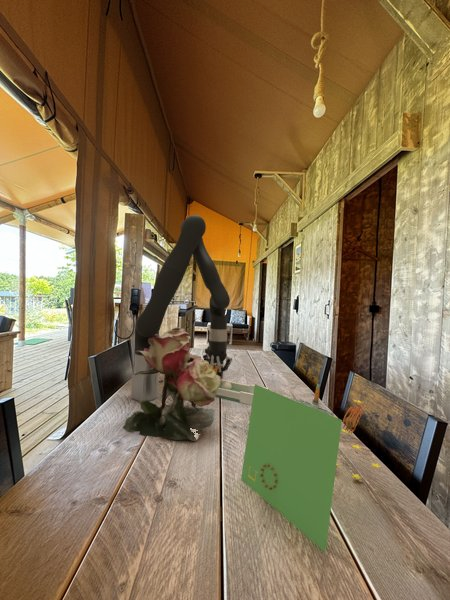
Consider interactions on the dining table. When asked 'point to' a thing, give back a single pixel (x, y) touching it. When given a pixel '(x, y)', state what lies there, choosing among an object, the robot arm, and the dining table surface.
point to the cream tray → (237, 392)
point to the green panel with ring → (295, 458)
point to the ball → (226, 386)
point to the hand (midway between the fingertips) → (216, 379)
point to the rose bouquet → (176, 389)
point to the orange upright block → (217, 373)
